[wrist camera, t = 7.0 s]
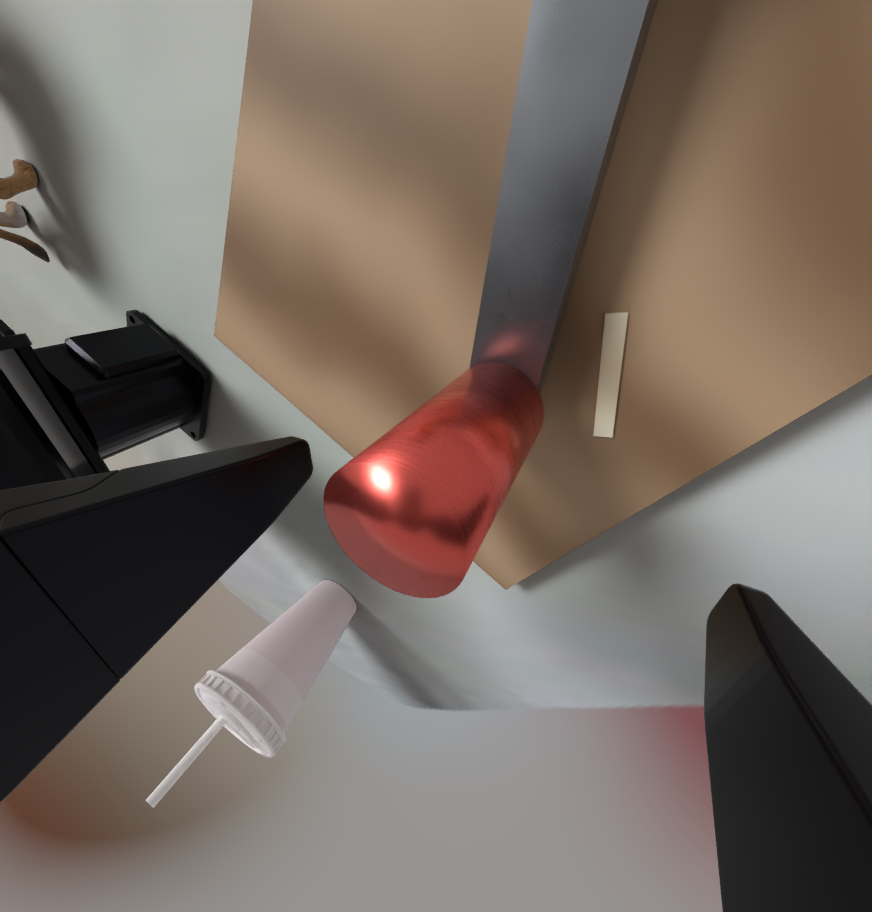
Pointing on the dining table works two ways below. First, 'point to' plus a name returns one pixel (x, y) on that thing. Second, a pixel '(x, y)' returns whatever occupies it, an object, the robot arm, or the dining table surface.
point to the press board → (605, 252)
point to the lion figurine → (18, 206)
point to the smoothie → (270, 676)
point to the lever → (501, 312)
